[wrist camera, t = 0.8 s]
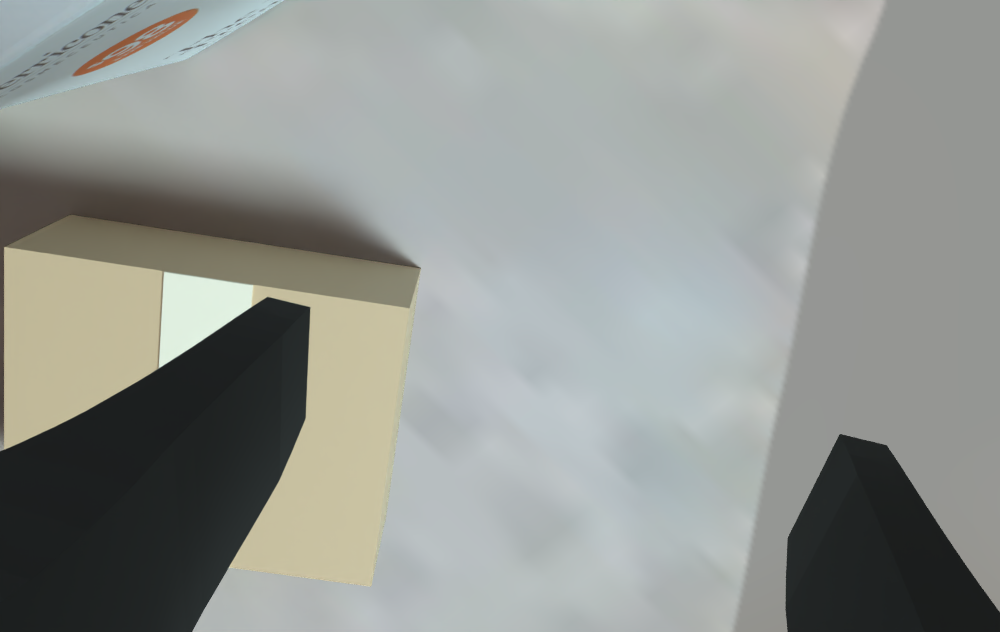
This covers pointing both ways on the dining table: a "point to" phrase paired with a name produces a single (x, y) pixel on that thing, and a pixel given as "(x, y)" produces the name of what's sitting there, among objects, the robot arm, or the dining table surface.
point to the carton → (191, 318)
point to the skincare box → (105, 39)
